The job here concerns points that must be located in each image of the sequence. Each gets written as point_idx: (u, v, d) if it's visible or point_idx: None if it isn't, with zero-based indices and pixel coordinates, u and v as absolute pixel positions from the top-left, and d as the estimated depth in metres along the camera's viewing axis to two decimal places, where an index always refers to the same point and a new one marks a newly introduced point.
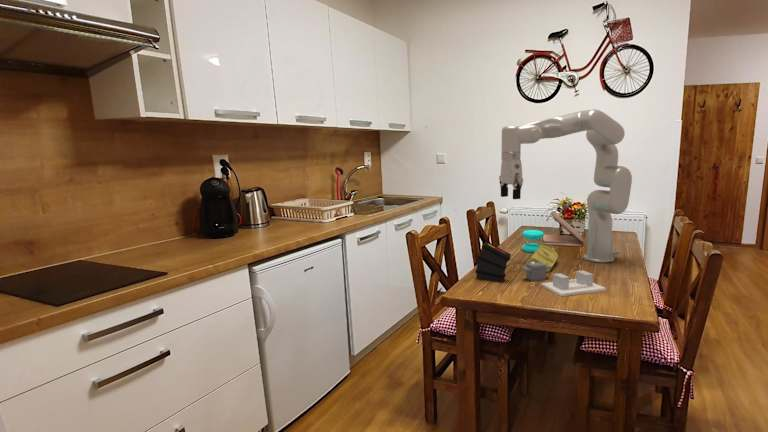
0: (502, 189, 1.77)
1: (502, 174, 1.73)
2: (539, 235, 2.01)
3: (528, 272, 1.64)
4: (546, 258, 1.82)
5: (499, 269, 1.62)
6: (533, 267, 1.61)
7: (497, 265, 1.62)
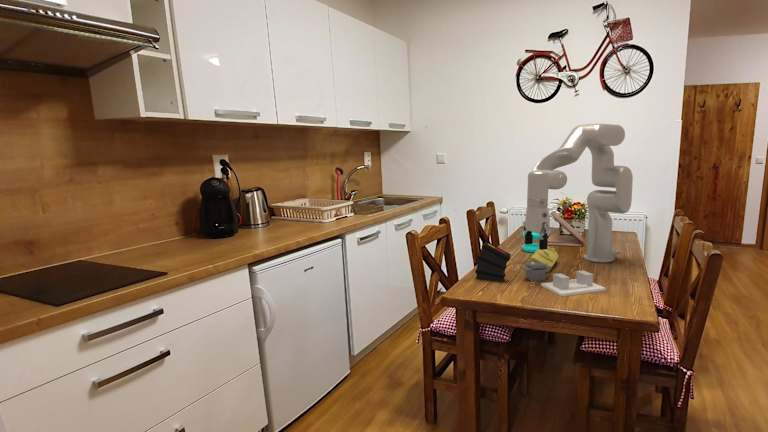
0: (526, 236, 1.66)
1: (527, 221, 1.62)
2: None
3: (528, 272, 1.64)
4: (546, 258, 1.82)
5: (499, 269, 1.62)
6: (533, 267, 1.61)
7: (497, 265, 1.62)
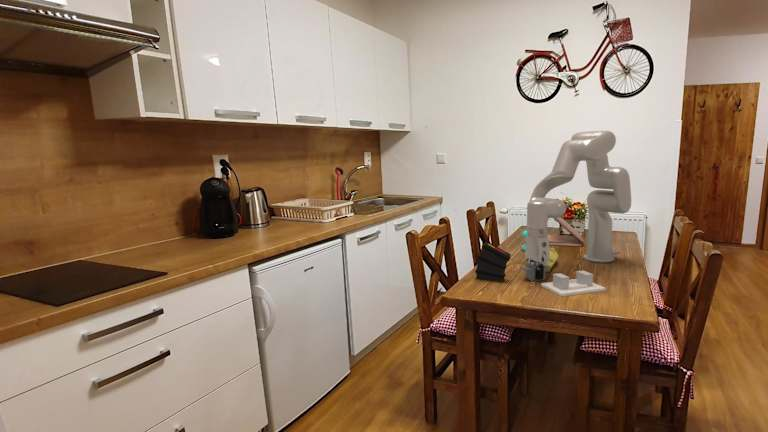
0: None
1: (527, 249, 1.64)
2: None
3: (528, 272, 1.64)
4: None
5: (499, 269, 1.62)
6: (533, 267, 1.61)
7: (497, 265, 1.62)
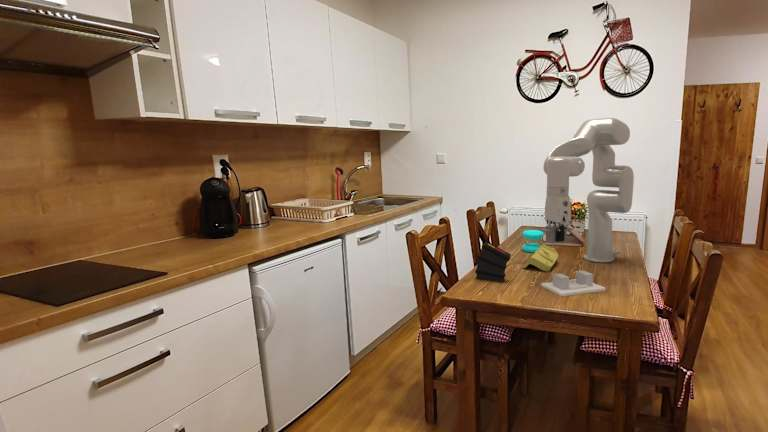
0: None
1: (547, 210, 1.55)
2: (539, 235, 2.01)
3: (548, 234, 1.55)
4: (546, 258, 1.83)
5: (499, 269, 1.62)
6: (553, 228, 1.52)
7: (497, 265, 1.62)
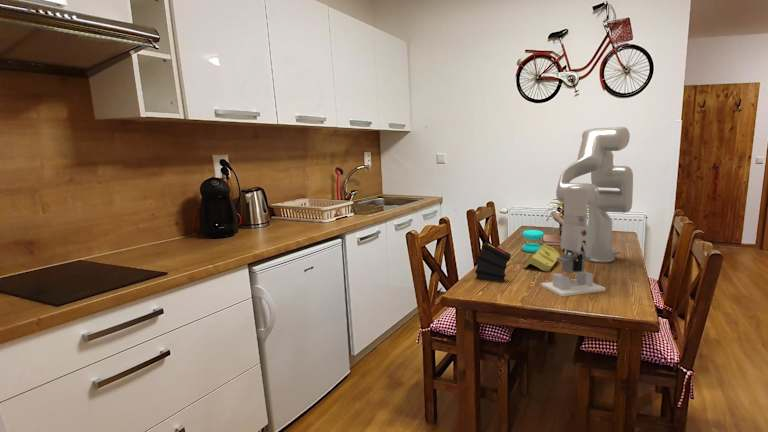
0: None
1: (564, 239, 1.51)
2: (539, 235, 2.01)
3: (565, 263, 1.50)
4: (547, 258, 1.83)
5: (499, 269, 1.62)
6: (571, 258, 1.48)
7: (497, 265, 1.62)
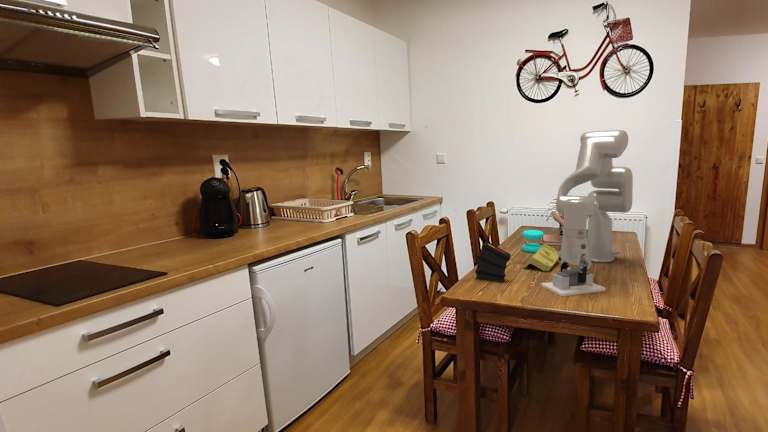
0: (562, 267, 1.55)
1: (563, 251, 1.52)
2: (539, 235, 2.01)
3: None
4: (547, 258, 1.83)
5: (499, 269, 1.62)
6: (570, 273, 1.49)
7: (497, 265, 1.62)
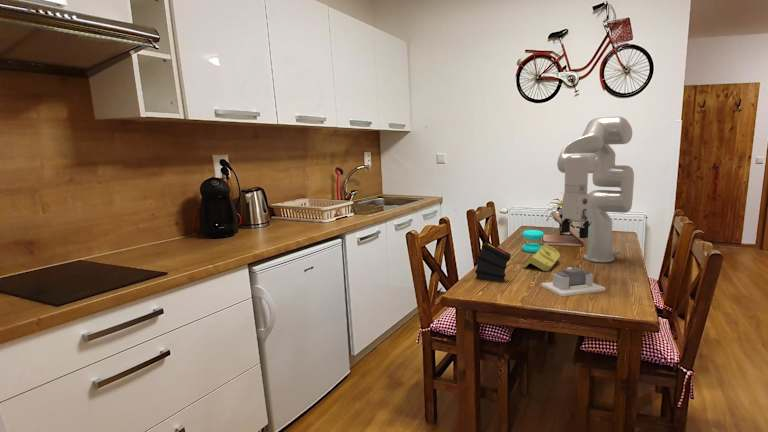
0: (563, 224, 1.56)
1: (565, 208, 1.53)
2: (539, 235, 2.01)
3: None
4: (547, 258, 1.83)
5: (499, 269, 1.62)
6: (570, 273, 1.49)
7: (497, 265, 1.62)
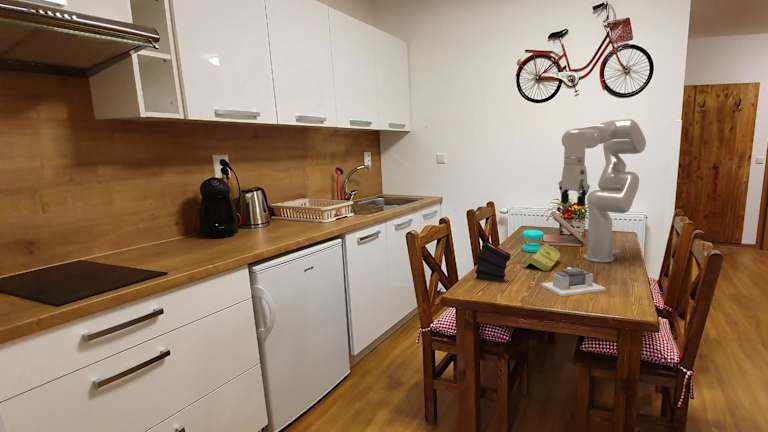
0: (563, 195, 1.70)
1: (564, 180, 1.67)
2: (539, 235, 2.01)
3: None
4: (547, 257, 1.83)
5: (499, 269, 1.62)
6: (570, 273, 1.49)
7: (497, 265, 1.62)
